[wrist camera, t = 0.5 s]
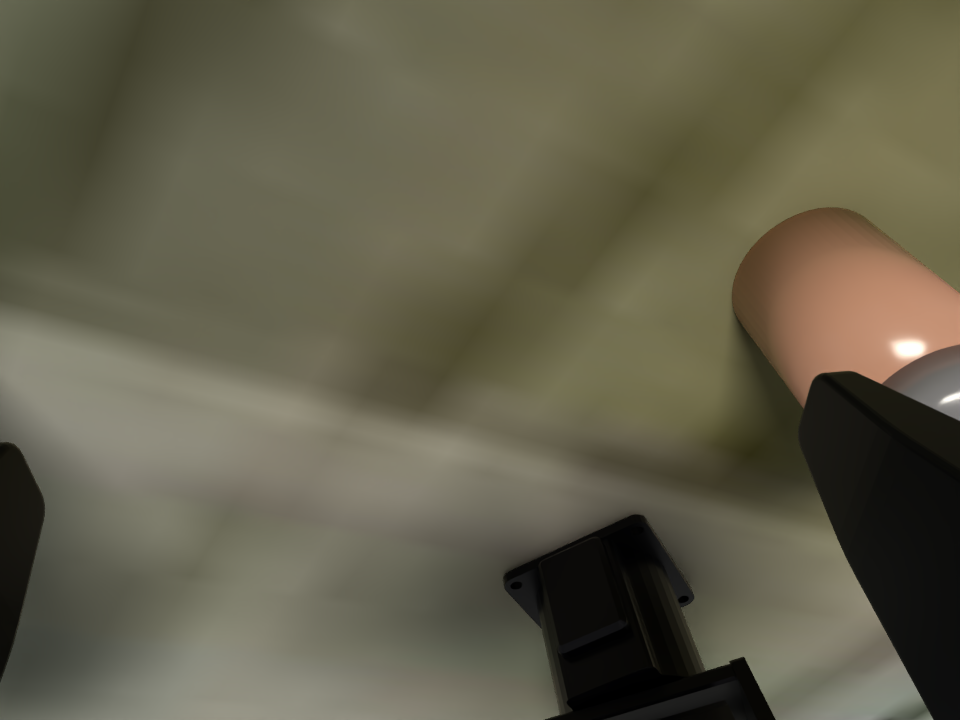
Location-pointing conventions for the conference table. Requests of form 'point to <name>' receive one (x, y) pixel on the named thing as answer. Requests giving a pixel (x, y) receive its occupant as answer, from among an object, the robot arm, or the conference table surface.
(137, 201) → the conference table surface
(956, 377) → the shaker
